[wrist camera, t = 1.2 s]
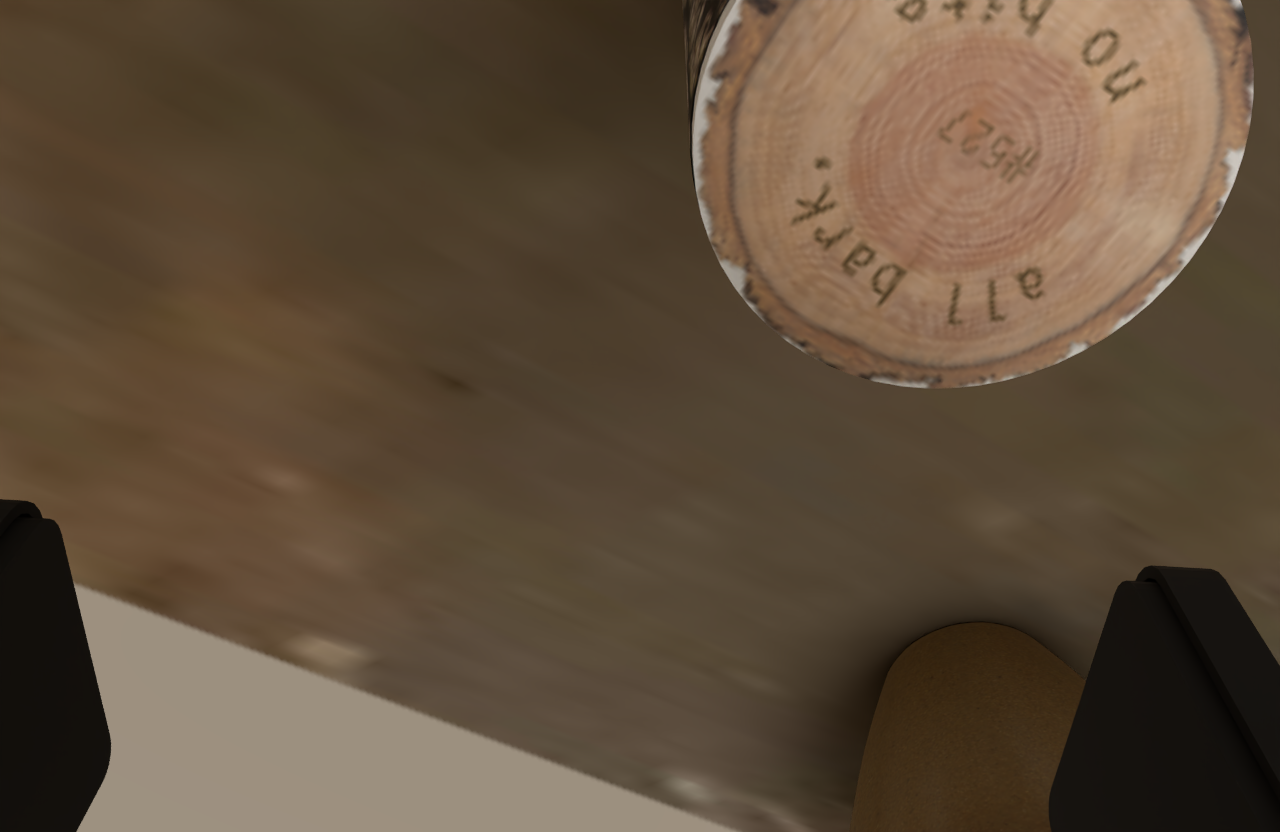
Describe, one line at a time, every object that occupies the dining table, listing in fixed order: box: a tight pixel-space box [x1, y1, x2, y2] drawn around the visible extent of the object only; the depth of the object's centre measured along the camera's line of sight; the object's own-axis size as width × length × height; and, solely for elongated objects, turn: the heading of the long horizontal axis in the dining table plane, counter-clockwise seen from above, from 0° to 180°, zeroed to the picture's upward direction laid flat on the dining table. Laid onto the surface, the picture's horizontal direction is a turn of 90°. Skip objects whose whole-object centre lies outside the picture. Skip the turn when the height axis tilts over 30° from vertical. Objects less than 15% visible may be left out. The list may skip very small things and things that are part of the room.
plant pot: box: [849, 622, 1086, 832], centre depth 45 cm, size 15×15×16 cm
